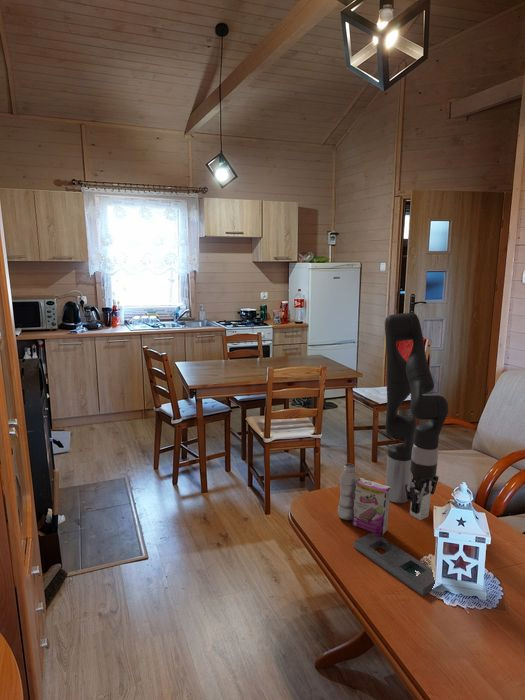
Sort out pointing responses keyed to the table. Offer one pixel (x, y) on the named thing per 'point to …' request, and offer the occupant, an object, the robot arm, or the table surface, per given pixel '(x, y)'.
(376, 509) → the candy bar box
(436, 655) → the table surface
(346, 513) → the plastic bottle
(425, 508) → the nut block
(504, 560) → the table surface
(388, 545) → the grey board with holes
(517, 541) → the table surface
